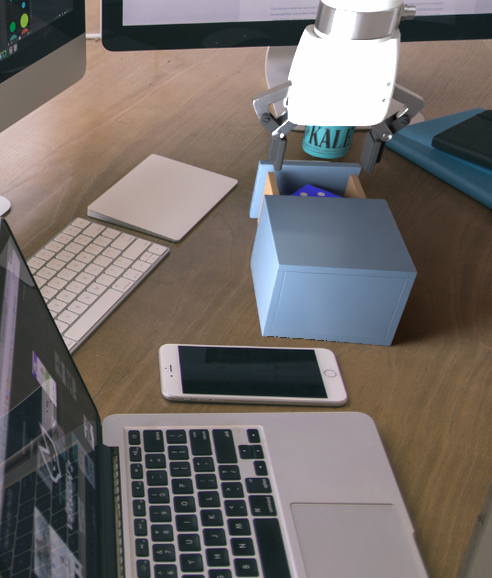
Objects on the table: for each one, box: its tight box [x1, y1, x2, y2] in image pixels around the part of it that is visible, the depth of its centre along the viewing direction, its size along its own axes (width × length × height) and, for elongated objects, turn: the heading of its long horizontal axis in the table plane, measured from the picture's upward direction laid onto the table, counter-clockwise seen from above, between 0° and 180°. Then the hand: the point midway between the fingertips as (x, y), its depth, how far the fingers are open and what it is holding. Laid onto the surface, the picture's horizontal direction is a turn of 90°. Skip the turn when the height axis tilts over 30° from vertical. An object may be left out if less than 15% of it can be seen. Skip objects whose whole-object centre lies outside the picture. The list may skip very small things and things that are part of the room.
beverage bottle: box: [301, 125, 357, 159], centre depth 106 cm, size 6×7×20 cm
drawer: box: [248, 159, 368, 224], centre depth 94 cm, size 17×11×8 cm, turn 168°
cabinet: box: [249, 195, 418, 347], centre depth 84 cm, size 14×13×10 cm
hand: (320, 166), depth 90 cm, fingers open, 9 cm apart
